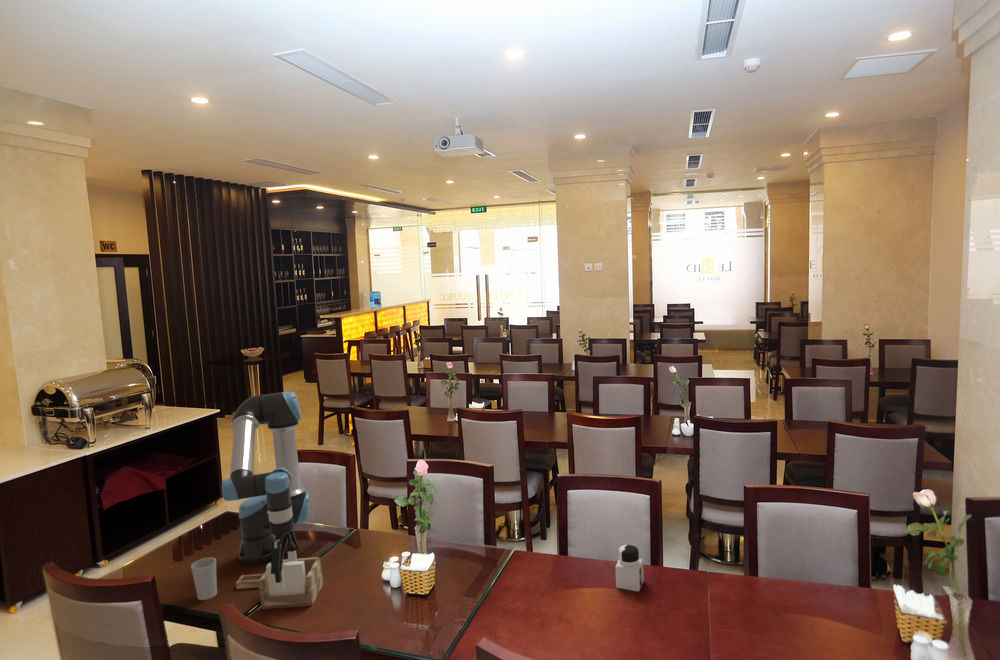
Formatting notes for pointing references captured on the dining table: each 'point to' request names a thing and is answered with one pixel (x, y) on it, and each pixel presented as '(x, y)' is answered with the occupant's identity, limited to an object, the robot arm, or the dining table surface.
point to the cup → (205, 578)
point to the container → (629, 569)
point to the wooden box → (313, 587)
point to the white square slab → (289, 579)
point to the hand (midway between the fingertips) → (287, 579)
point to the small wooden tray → (248, 581)
